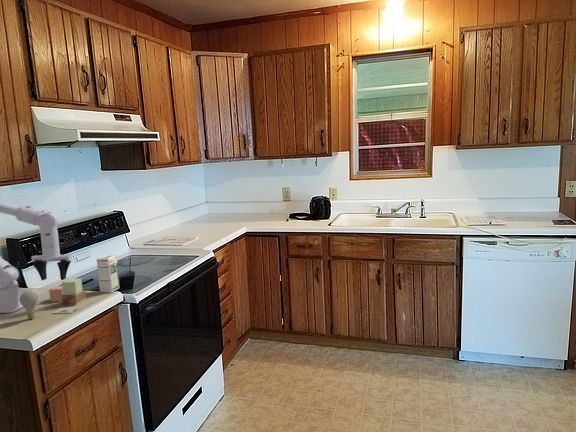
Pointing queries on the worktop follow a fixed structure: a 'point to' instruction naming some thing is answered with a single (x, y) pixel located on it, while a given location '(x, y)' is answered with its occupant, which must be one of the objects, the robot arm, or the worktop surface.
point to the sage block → (72, 286)
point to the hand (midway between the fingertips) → (53, 279)
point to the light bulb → (29, 302)
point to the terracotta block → (56, 293)
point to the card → (63, 310)
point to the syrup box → (108, 273)
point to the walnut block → (73, 298)
